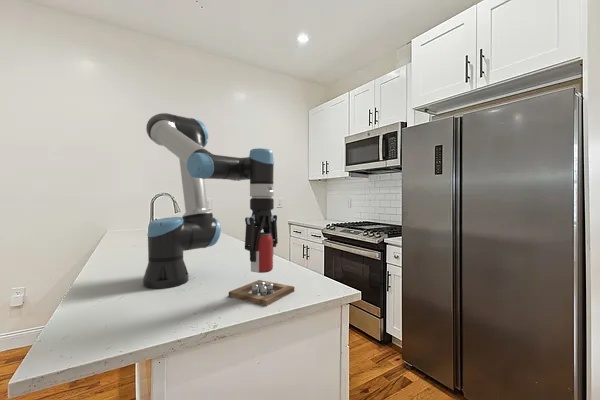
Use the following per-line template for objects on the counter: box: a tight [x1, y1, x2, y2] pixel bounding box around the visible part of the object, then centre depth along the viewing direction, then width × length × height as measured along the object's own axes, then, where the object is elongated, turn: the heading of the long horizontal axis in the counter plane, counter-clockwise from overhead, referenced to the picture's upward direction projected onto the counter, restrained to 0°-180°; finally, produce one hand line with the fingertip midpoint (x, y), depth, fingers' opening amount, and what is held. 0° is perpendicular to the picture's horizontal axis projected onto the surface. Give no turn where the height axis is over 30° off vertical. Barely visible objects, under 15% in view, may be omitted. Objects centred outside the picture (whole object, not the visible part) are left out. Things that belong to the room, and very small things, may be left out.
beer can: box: [257, 231, 274, 274], centre depth 95 cm, size 7×7×12 cm
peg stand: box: [251, 282, 274, 296], centre depth 95 cm, size 5×5×3 cm
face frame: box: [228, 279, 295, 307], centre depth 95 cm, size 15×15×2 cm
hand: (262, 269), depth 95 cm, fingers closed on beer can, 7 cm apart
